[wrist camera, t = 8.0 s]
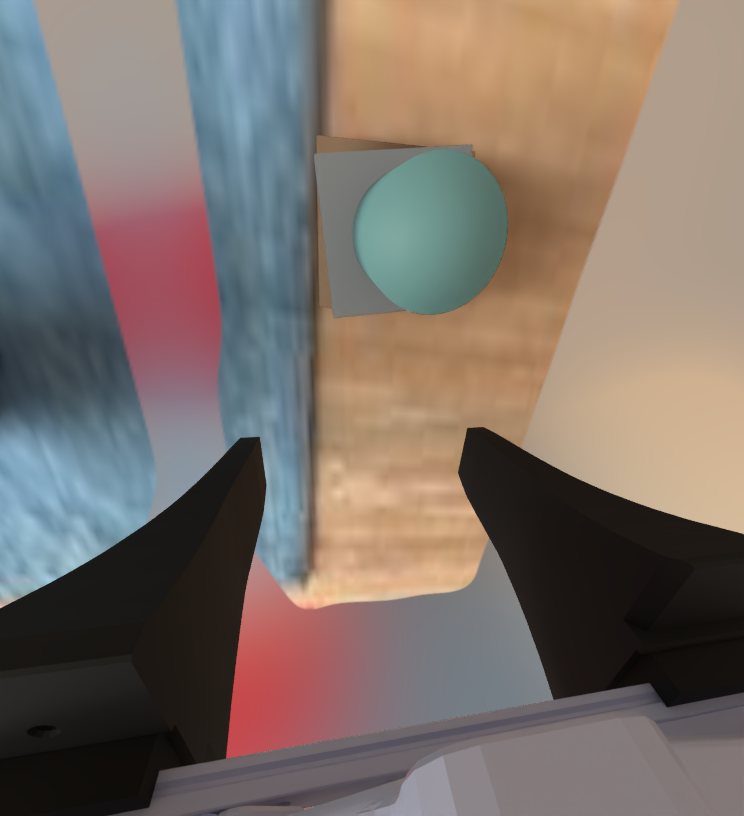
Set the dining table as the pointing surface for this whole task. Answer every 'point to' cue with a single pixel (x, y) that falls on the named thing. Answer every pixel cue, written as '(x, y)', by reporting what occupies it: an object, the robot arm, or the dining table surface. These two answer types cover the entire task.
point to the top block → (339, 199)
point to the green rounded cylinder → (432, 231)
